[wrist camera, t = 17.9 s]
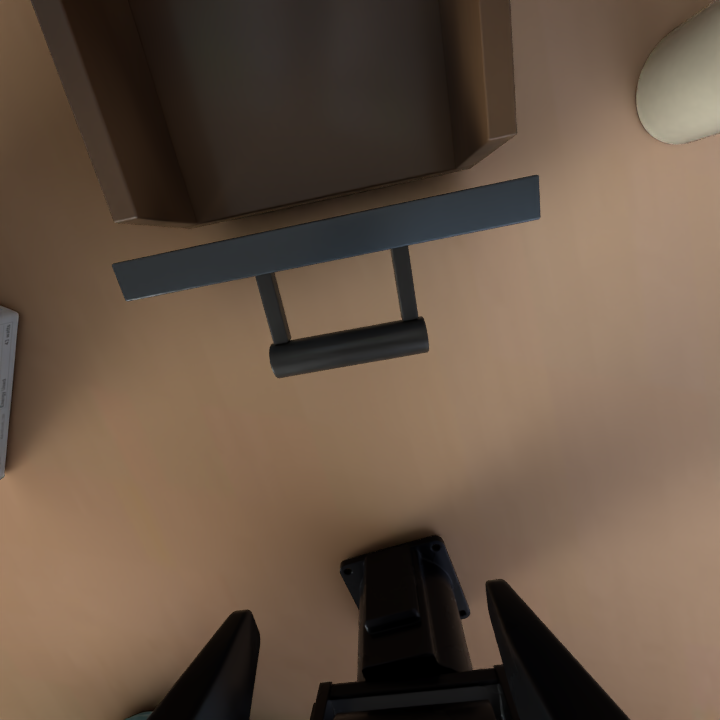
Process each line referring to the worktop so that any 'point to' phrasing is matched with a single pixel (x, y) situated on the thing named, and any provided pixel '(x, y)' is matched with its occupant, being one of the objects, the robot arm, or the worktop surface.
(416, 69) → the drawer
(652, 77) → the grey-lidded cream jar
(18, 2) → the worktop surface
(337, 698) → the robot arm
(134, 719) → the casserole dish
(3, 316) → the light bulb box
